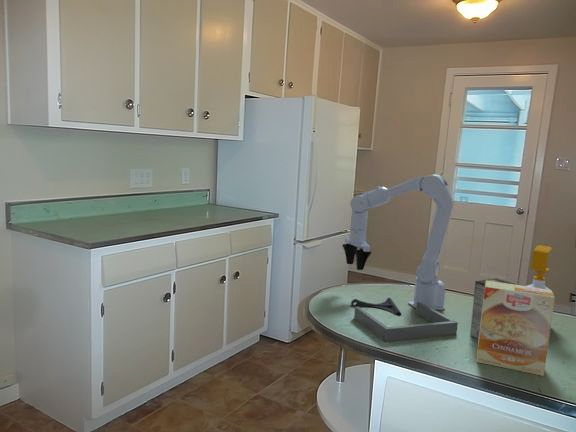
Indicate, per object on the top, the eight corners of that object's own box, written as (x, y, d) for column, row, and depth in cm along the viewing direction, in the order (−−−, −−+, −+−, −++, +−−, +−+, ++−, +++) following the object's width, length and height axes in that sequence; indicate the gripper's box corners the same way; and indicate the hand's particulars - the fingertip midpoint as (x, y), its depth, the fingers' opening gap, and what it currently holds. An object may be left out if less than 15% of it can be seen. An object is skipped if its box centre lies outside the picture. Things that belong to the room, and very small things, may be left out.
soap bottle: (553, 324, 142) (564, 247, 139) (545, 332, 136) (556, 251, 132) (522, 316, 148) (532, 242, 145) (513, 323, 142) (523, 245, 138)
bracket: (348, 300, 158) (348, 292, 158) (391, 302, 158) (391, 294, 158) (354, 315, 144) (354, 306, 143) (401, 317, 144) (402, 309, 143)
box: (419, 312, 147) (420, 302, 147) (456, 334, 131) (457, 322, 130) (354, 318, 139) (355, 307, 139) (385, 341, 123) (386, 329, 122)
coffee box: (490, 330, 135) (497, 277, 132) (510, 338, 129) (516, 283, 127) (468, 334, 130) (474, 280, 128) (487, 343, 125) (494, 286, 123)
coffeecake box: (476, 362, 113) (484, 286, 110) (476, 351, 119) (485, 279, 117) (544, 377, 107) (555, 296, 104) (541, 364, 113) (552, 288, 111)
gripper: (338, 225, 166) (335, 261, 168) (358, 233, 152) (354, 272, 154) (356, 225, 168) (352, 261, 170) (376, 233, 155) (372, 272, 157)
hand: (354, 266), depth 162 cm, fingers open, 7 cm apart
